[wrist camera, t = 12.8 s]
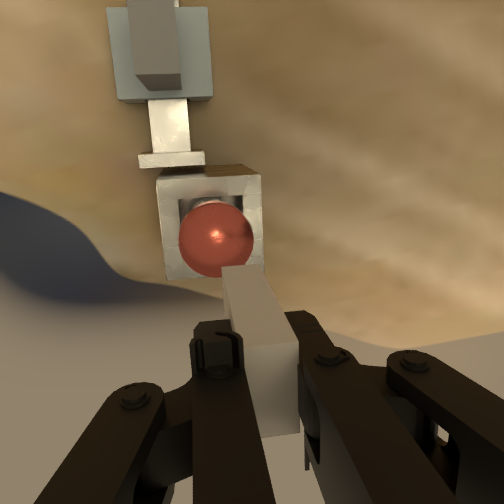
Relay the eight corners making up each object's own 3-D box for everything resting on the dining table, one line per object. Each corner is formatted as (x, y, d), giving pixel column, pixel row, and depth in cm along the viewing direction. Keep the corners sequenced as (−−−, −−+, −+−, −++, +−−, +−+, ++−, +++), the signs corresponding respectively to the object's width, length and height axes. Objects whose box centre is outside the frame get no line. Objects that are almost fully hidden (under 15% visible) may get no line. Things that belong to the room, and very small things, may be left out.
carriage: (204, 22, 34) (216, -45, 21) (209, 100, 36) (223, 81, 23) (116, 23, 33) (72, -46, 20) (126, 103, 35) (91, 85, 22)
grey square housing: (241, 164, 38) (260, 174, 28) (245, 238, 40) (264, 271, 30) (158, 168, 37) (149, 181, 27) (166, 245, 39) (161, 281, 29)
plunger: (237, 186, 32) (252, 201, 25) (240, 244, 33) (255, 274, 26) (177, 190, 31) (174, 206, 24) (182, 249, 33) (181, 280, 26)
